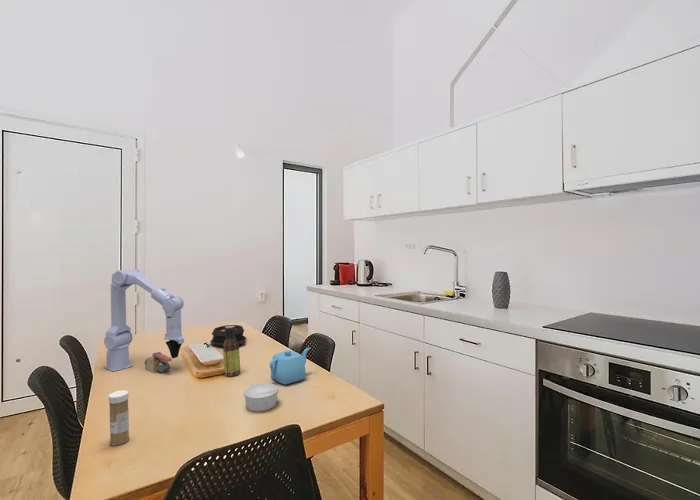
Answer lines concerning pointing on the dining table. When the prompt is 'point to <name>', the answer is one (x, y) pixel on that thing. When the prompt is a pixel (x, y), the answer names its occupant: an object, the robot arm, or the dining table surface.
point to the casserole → (220, 335)
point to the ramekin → (261, 397)
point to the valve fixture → (156, 365)
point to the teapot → (288, 366)
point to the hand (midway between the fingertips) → (174, 357)
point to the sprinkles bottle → (119, 417)
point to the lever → (162, 356)
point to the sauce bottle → (231, 353)
